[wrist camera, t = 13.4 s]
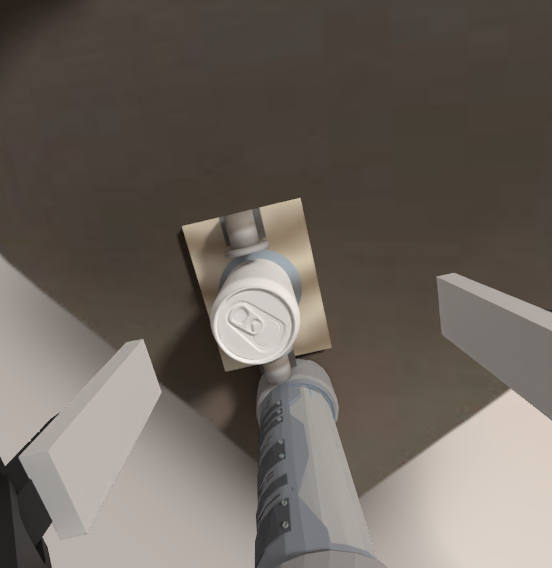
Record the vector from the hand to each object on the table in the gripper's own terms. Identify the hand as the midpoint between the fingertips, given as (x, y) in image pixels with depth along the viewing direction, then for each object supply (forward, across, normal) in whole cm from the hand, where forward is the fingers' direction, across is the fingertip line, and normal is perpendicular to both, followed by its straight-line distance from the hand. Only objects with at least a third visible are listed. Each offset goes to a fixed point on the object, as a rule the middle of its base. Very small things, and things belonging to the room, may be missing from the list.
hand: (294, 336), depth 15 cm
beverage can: (+25, -3, -5) cm, 26 cm away
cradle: (+26, -3, -5) cm, 27 cm away
